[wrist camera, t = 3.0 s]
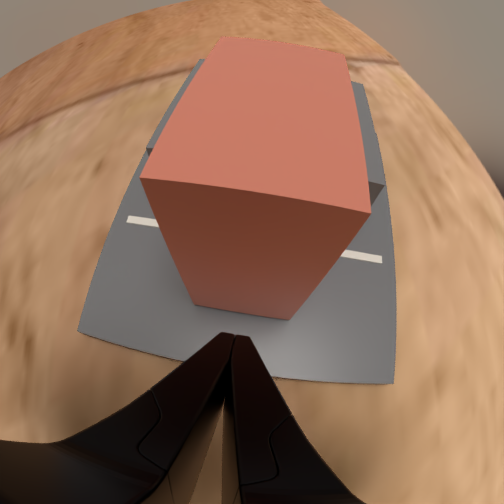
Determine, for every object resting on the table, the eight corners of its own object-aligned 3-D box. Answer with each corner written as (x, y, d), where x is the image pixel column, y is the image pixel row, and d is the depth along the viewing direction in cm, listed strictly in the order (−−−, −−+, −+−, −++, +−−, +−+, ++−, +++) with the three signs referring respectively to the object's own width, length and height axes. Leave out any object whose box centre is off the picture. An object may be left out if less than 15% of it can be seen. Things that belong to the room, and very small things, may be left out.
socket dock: (386, 384, 14) (449, 376, 9) (83, 333, 15) (25, 306, 9) (373, 139, 23) (396, 89, 18) (174, 107, 23) (167, 53, 18)
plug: (289, 320, 15) (371, 213, 6) (193, 304, 15) (139, 177, 6) (301, 195, 18) (344, 54, 9) (223, 183, 18) (221, 36, 9)
